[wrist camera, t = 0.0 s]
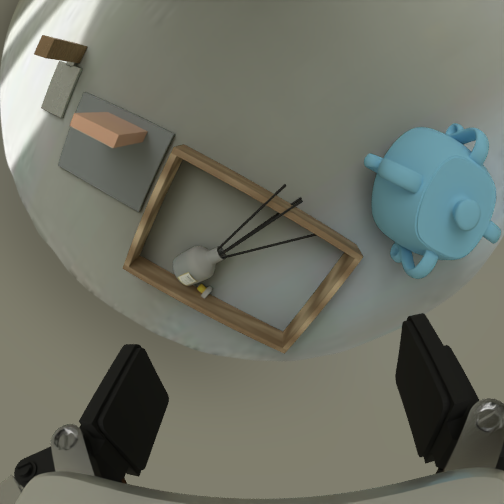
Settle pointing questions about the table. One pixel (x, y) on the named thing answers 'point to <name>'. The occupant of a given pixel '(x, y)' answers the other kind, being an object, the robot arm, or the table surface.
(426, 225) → the decorative pot
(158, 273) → the wooden frame
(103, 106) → the mat
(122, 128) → the tile
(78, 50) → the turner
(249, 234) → the reed diffuser
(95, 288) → the table surface
